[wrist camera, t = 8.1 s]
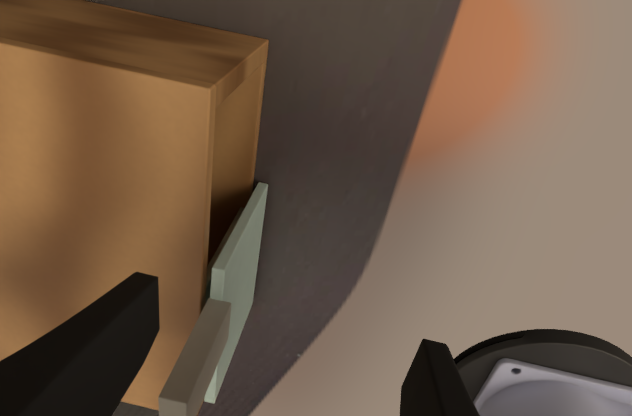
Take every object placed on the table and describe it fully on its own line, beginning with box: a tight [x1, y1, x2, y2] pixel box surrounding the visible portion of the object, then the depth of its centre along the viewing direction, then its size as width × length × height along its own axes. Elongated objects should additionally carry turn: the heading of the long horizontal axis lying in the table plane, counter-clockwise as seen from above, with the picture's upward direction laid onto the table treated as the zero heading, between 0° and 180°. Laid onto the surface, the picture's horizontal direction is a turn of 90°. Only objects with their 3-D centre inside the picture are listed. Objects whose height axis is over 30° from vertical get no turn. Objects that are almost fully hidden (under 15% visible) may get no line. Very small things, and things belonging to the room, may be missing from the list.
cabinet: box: [0, 0, 269, 416], centre depth 20 cm, size 10×16×7 cm, turn 171°
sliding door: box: [158, 182, 268, 416], centre depth 19 cm, size 1×8×11 cm, turn 171°
